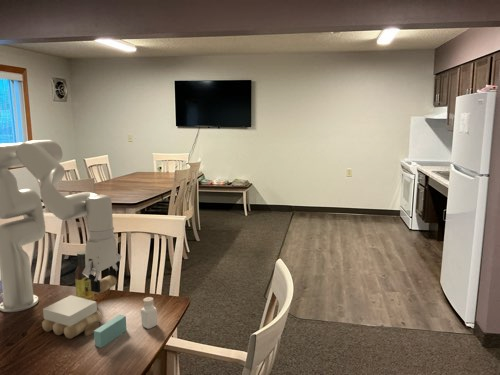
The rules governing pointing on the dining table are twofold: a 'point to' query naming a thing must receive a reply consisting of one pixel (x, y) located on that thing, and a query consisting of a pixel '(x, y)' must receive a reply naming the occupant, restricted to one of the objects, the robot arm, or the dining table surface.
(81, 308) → the slab
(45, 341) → the dining table surface
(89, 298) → the sauce bottle
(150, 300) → the pepper shaker
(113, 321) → the block
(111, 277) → the roller
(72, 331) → the roller track
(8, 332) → the dining table surface
